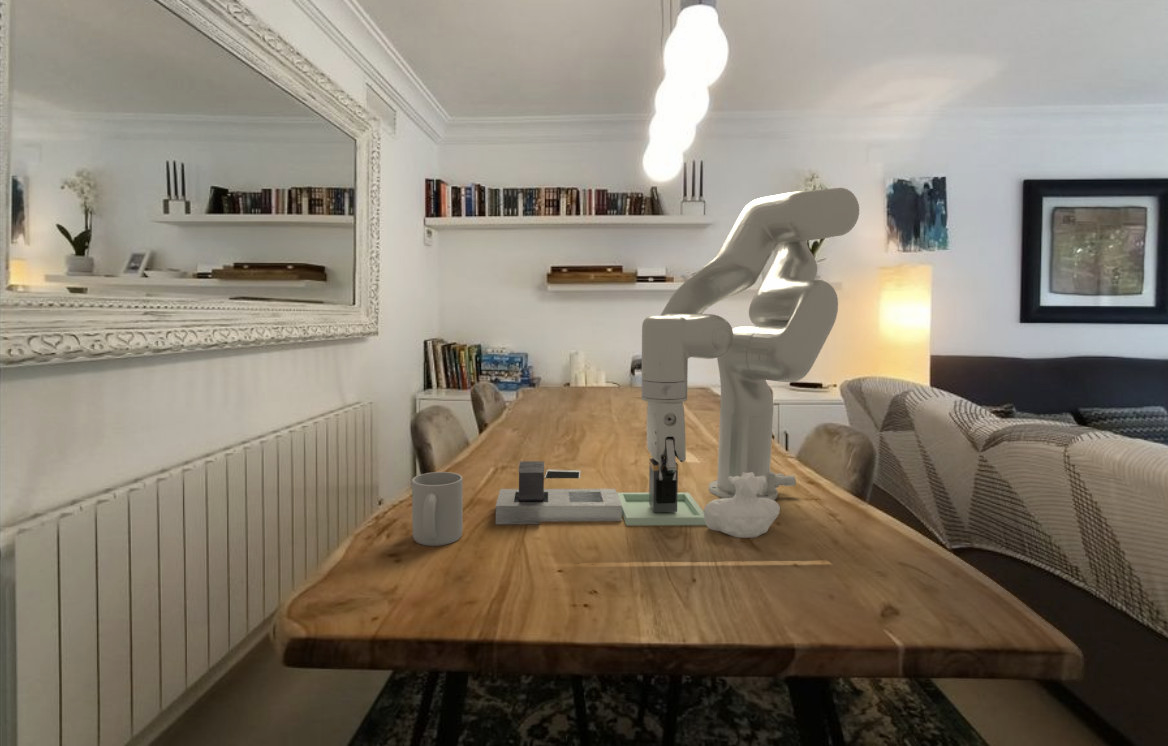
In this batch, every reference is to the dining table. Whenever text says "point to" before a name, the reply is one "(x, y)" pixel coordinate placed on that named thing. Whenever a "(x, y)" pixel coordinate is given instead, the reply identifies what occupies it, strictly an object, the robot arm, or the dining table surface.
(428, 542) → the cup
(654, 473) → the rectangular block
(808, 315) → the robot arm
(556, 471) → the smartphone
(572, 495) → the pdu strip
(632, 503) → the tray
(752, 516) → the white tied sack
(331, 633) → the dining table surface
